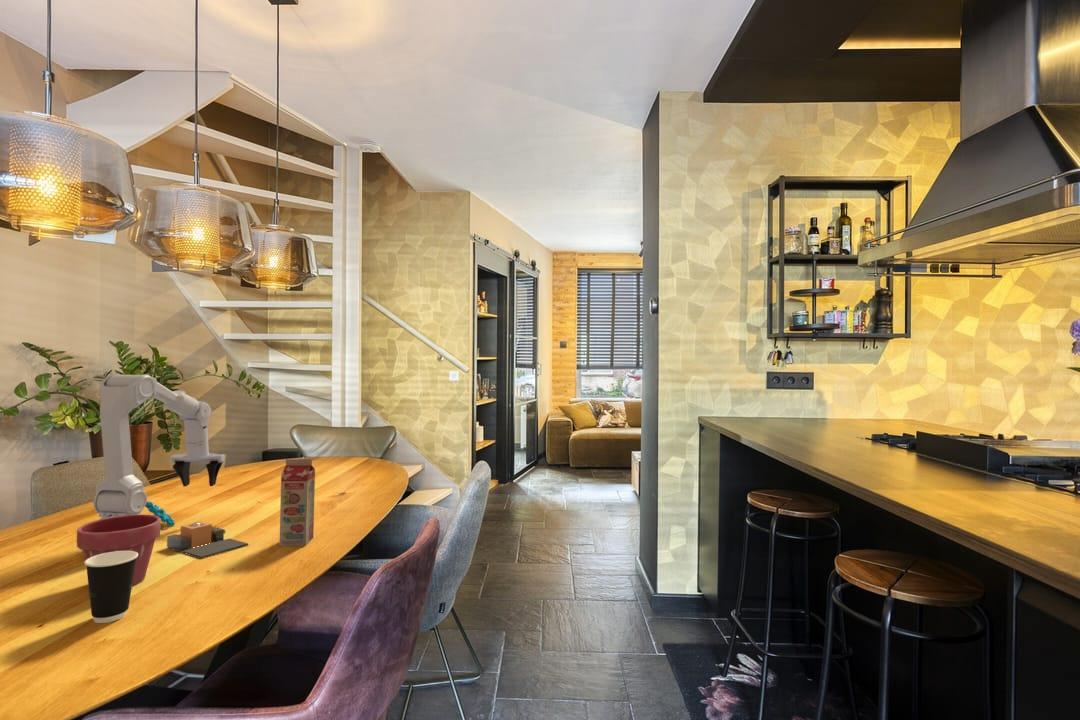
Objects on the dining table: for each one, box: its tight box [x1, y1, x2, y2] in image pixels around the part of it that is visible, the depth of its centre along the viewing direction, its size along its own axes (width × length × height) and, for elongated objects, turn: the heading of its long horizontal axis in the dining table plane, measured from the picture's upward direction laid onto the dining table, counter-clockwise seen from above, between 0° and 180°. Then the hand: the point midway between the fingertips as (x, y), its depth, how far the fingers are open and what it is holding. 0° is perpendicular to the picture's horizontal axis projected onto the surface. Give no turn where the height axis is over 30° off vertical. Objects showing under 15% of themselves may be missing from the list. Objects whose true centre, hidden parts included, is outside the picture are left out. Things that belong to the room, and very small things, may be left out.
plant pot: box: [76, 514, 161, 586], centre depth 119 cm, size 14×14×13 cm
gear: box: [144, 500, 176, 526], centre depth 159 cm, size 11×6×10 cm
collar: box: [180, 521, 212, 549], centre depth 145 cm, size 5×5×5 cm
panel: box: [182, 538, 249, 559], centre depth 141 cm, size 12×8×1 cm, turn 151°
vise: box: [166, 521, 226, 553], centre depth 146 cm, size 13×6×6 cm, turn 151°
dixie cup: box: [84, 551, 138, 624], centre depth 103 cm, size 8×8×11 cm
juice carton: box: [278, 458, 316, 547], centre depth 148 cm, size 7×7×22 cm
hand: (199, 485), depth 166 cm, fingers open, 7 cm apart
